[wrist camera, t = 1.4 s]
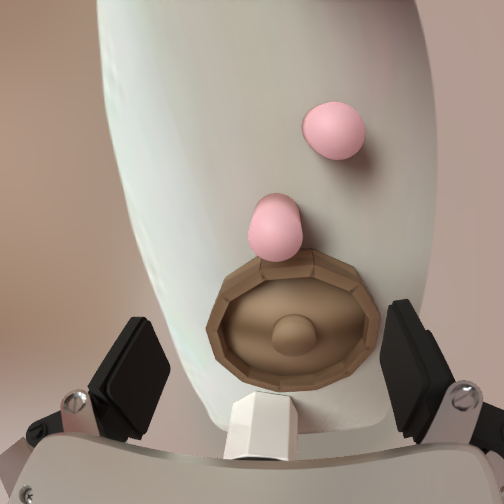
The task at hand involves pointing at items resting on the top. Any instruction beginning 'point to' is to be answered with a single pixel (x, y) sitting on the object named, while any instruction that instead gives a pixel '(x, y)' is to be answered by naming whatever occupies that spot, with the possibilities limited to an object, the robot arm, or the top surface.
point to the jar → (262, 429)
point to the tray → (293, 322)
